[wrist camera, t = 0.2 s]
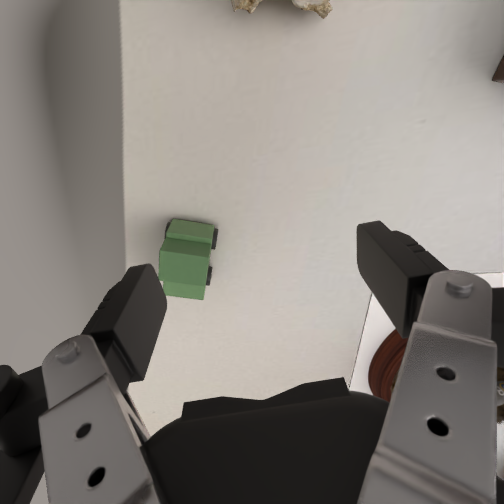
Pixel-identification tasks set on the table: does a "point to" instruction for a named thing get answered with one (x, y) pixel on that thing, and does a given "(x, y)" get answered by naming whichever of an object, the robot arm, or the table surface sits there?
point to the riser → (499, 72)
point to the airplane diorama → (397, 353)
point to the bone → (317, 3)
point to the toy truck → (186, 258)
